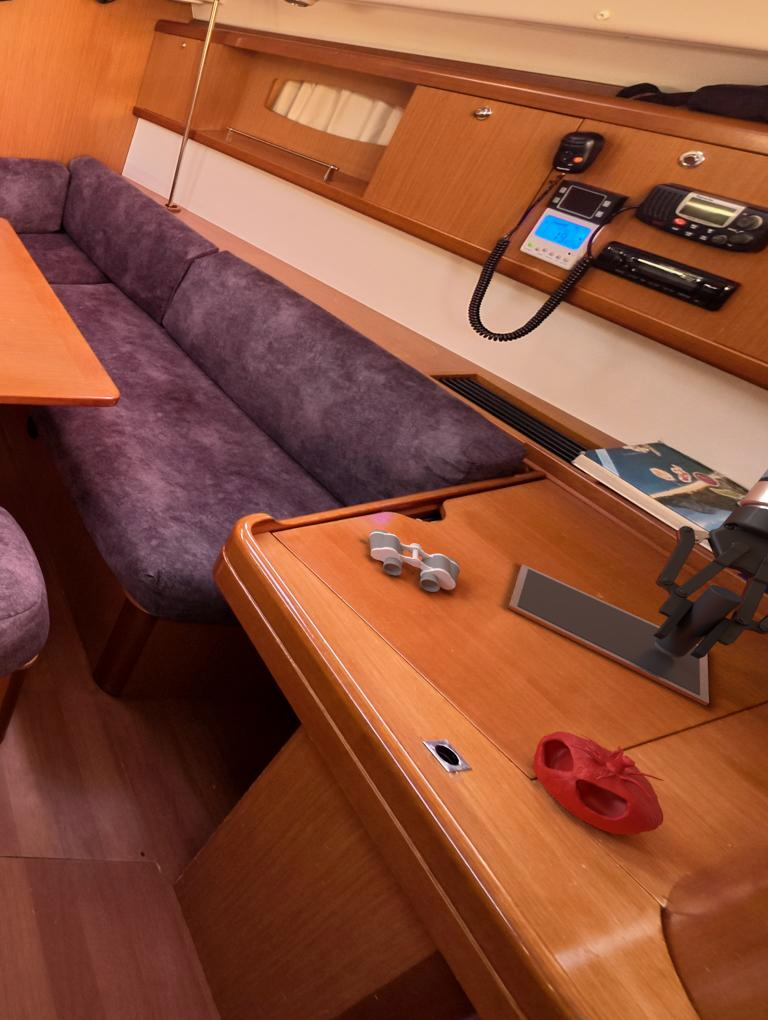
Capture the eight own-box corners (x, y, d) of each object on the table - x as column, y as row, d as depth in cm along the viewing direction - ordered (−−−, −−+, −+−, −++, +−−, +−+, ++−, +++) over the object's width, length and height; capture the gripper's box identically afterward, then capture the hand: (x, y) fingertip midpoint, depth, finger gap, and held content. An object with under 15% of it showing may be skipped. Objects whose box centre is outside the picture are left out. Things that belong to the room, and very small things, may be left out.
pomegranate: (575, 755, 81) (619, 713, 77) (668, 848, 72) (723, 806, 68) (498, 752, 81) (538, 710, 77) (581, 844, 72) (631, 802, 68)
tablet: (704, 650, 95) (707, 647, 95) (705, 706, 87) (709, 702, 87) (520, 566, 109) (522, 563, 109) (507, 607, 101) (509, 604, 101)
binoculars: (454, 575, 107) (464, 560, 105) (455, 603, 102) (465, 588, 100) (366, 538, 114) (374, 524, 113) (362, 563, 109) (371, 548, 107)
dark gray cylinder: (682, 651, 93) (742, 594, 87) (682, 662, 91) (743, 605, 86) (653, 638, 95) (710, 581, 89) (653, 648, 93) (710, 591, 88)
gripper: (701, 480, 93) (603, 600, 93) (895, 553, 81) (781, 690, 81) (686, 495, 98) (592, 608, 98) (866, 565, 86) (759, 695, 86)
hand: (678, 645), depth 90 cm, fingers closed on dark gray cylinder, 3 cm apart
